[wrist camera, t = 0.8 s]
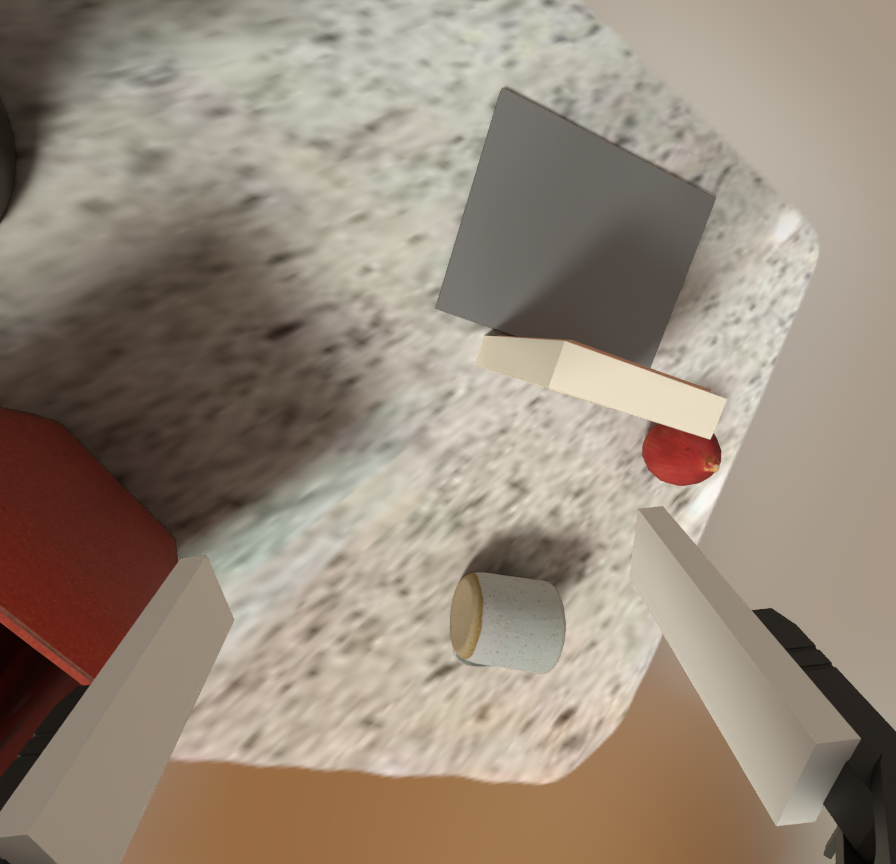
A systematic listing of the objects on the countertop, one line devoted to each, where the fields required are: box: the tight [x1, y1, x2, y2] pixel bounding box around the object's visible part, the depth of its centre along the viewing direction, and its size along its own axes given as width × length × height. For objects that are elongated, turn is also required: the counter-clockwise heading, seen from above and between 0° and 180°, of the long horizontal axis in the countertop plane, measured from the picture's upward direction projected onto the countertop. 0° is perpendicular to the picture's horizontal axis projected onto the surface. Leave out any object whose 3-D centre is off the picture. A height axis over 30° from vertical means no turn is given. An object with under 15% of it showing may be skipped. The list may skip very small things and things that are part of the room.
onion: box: [642, 424, 721, 486], centre depth 37 cm, size 6×6×8 cm
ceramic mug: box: [450, 572, 566, 674], centre depth 38 cm, size 11×8×8 cm
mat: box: [435, 88, 716, 368], centre depth 35 cm, size 16×20×1 cm
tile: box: [475, 336, 727, 440], centre depth 31 cm, size 11×3×14 cm, turn 73°
